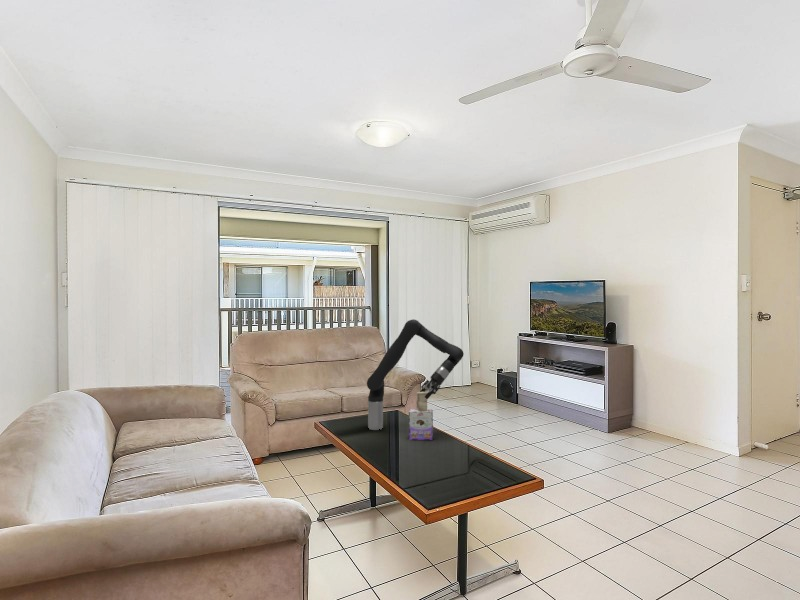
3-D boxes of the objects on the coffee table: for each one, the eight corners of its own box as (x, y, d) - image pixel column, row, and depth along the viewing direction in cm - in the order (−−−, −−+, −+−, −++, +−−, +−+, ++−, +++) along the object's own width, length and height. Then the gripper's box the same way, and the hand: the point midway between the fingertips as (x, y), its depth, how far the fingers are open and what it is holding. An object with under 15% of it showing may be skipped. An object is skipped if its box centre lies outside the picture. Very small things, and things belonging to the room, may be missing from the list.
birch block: (416, 409, 259) (416, 392, 259) (423, 408, 261) (423, 391, 261) (420, 411, 255) (420, 393, 255) (427, 410, 257) (427, 393, 257)
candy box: (432, 437, 260) (433, 409, 260) (432, 440, 254) (432, 411, 254) (409, 436, 262) (409, 408, 262) (408, 439, 256) (408, 411, 256)
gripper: (430, 369, 268) (413, 390, 264) (441, 373, 255) (424, 394, 251) (438, 377, 271) (421, 398, 266) (450, 381, 258) (432, 403, 253)
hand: (422, 396), depth 258 cm, fingers open, 8 cm apart
